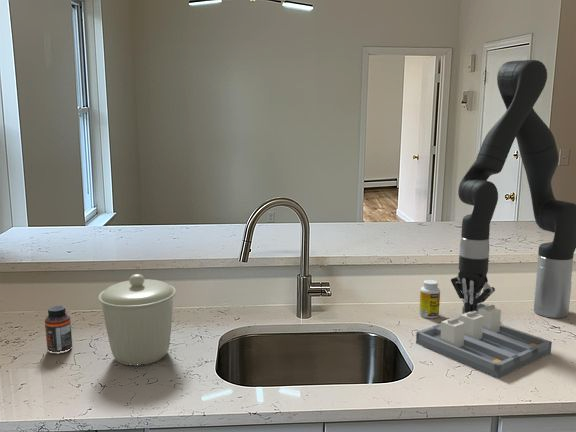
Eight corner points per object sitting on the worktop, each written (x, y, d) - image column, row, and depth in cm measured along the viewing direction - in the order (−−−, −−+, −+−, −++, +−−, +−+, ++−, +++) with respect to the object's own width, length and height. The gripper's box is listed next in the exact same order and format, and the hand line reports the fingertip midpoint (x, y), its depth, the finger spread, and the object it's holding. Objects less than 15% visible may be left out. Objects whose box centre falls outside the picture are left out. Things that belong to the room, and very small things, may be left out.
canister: (129, 381, 130) (123, 291, 126) (88, 358, 142) (82, 275, 138) (193, 355, 143) (190, 273, 139) (151, 335, 155) (146, 259, 151)
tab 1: (450, 340, 147) (451, 315, 146) (463, 345, 144) (465, 319, 143) (440, 344, 145) (441, 318, 143) (453, 349, 142) (454, 323, 140)
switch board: (469, 323, 162) (470, 313, 162) (550, 353, 143) (551, 341, 143) (416, 343, 149) (416, 332, 149) (497, 378, 130) (498, 365, 130)
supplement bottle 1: (43, 350, 146) (39, 308, 144) (65, 343, 151) (62, 301, 148) (54, 357, 142) (50, 313, 140) (77, 349, 147) (73, 307, 144)
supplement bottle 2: (429, 320, 165) (431, 286, 163) (415, 314, 169) (416, 281, 167) (443, 316, 168) (444, 282, 166) (428, 310, 172) (430, 277, 170)
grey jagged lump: (460, 311, 172) (460, 298, 171) (486, 312, 172) (486, 299, 171) (468, 325, 162) (468, 311, 161) (495, 325, 161) (496, 311, 160)
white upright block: (486, 326, 156) (488, 302, 154) (499, 331, 153) (501, 306, 151) (477, 330, 153) (478, 305, 152) (490, 335, 150) (492, 310, 149)
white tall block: (469, 333, 151) (470, 308, 150) (482, 338, 148) (483, 313, 147) (459, 337, 149) (460, 311, 148) (472, 342, 146) (473, 316, 145)
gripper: (504, 257, 151) (500, 320, 154) (462, 246, 161) (459, 306, 165) (486, 261, 146) (482, 326, 150) (444, 251, 157) (441, 311, 160)
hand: (470, 315), depth 157 cm, fingers closed
